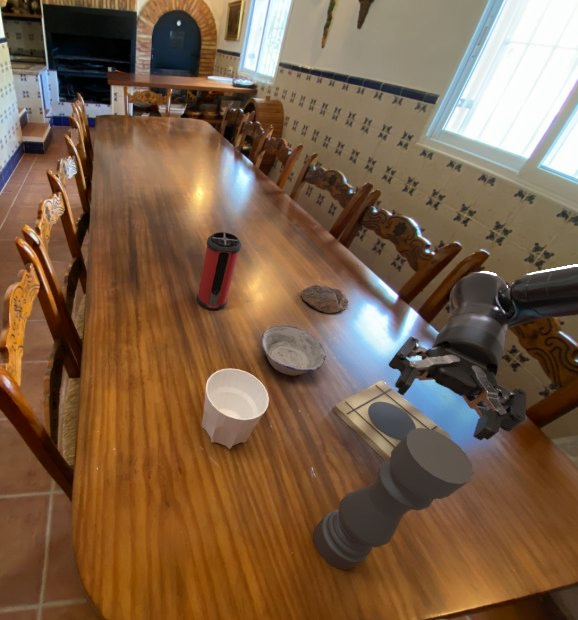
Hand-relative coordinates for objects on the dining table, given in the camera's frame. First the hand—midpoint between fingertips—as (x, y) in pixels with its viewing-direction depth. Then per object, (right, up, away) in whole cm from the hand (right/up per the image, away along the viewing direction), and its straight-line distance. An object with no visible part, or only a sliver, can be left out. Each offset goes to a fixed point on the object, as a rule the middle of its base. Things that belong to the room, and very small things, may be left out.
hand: (441, 411), depth 43 cm
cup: (-22, -9, +20) cm, 31 cm away
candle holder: (-9, -21, +7) cm, 24 cm away
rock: (+10, +15, +52) cm, 55 cm away
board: (+9, -9, +23) cm, 26 cm away
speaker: (-20, +15, +48) cm, 54 cm away
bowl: (-6, +1, +34) cm, 34 cm away
